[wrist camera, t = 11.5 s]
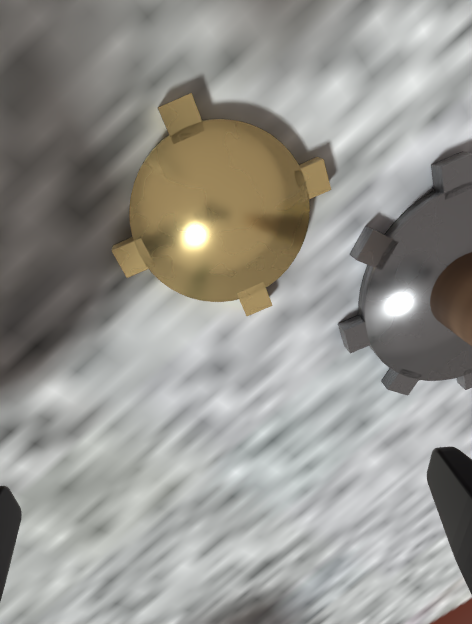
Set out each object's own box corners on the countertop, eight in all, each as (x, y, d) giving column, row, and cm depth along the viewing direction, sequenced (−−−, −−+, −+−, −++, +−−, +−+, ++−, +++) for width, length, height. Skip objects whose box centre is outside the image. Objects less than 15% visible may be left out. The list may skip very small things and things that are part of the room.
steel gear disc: (366, 420, 26) (372, 429, 25) (307, 218, 19) (312, 222, 18) (572, 333, 26) (584, 340, 25) (588, 97, 19) (604, 97, 18)
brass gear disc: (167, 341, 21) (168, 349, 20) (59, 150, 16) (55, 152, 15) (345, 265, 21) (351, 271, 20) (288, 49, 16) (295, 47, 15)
